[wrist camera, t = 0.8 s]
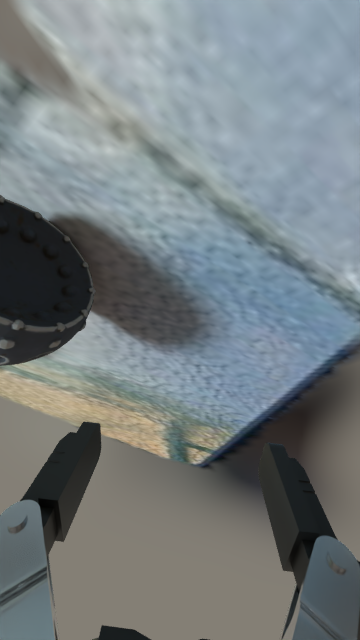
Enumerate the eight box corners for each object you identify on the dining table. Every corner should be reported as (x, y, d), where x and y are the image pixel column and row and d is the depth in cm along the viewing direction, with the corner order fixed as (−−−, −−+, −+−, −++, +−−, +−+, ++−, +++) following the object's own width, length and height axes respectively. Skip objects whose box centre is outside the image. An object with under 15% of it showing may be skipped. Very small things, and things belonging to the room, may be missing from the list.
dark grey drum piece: (15, 170, 31) (-201, 194, 15) (121, 284, 39) (53, 380, 23) (-20, 220, 36) (-212, 278, 20) (81, 313, 44) (2, 408, 28)
